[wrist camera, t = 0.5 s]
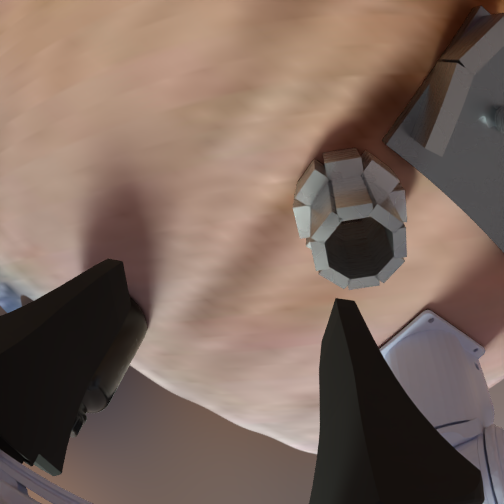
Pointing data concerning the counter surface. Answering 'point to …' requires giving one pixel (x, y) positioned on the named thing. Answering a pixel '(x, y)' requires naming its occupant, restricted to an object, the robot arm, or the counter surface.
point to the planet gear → (348, 208)
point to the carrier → (462, 123)
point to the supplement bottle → (112, 366)
